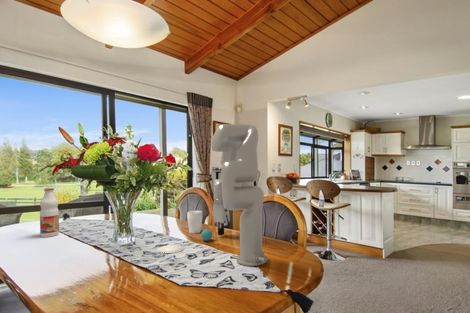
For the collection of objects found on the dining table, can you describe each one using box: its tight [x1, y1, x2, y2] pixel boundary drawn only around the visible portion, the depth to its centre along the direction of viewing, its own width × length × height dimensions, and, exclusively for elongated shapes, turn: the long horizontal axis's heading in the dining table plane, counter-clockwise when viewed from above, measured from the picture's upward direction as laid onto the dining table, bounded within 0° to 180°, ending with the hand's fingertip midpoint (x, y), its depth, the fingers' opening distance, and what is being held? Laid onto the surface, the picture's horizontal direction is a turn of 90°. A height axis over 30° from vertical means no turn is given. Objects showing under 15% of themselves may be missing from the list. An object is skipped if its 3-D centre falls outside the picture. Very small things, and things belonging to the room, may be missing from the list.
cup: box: [186, 210, 203, 234], centre depth 171 cm, size 9×9×12 cm
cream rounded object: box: [156, 244, 185, 254], centre depth 139 cm, size 13×13×1 cm
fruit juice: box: [39, 187, 60, 238], centre depth 170 cm, size 9×9×28 cm
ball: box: [200, 228, 213, 242], centre depth 152 cm, size 6×6×6 cm
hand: (221, 234), depth 158 cm, fingers closed
